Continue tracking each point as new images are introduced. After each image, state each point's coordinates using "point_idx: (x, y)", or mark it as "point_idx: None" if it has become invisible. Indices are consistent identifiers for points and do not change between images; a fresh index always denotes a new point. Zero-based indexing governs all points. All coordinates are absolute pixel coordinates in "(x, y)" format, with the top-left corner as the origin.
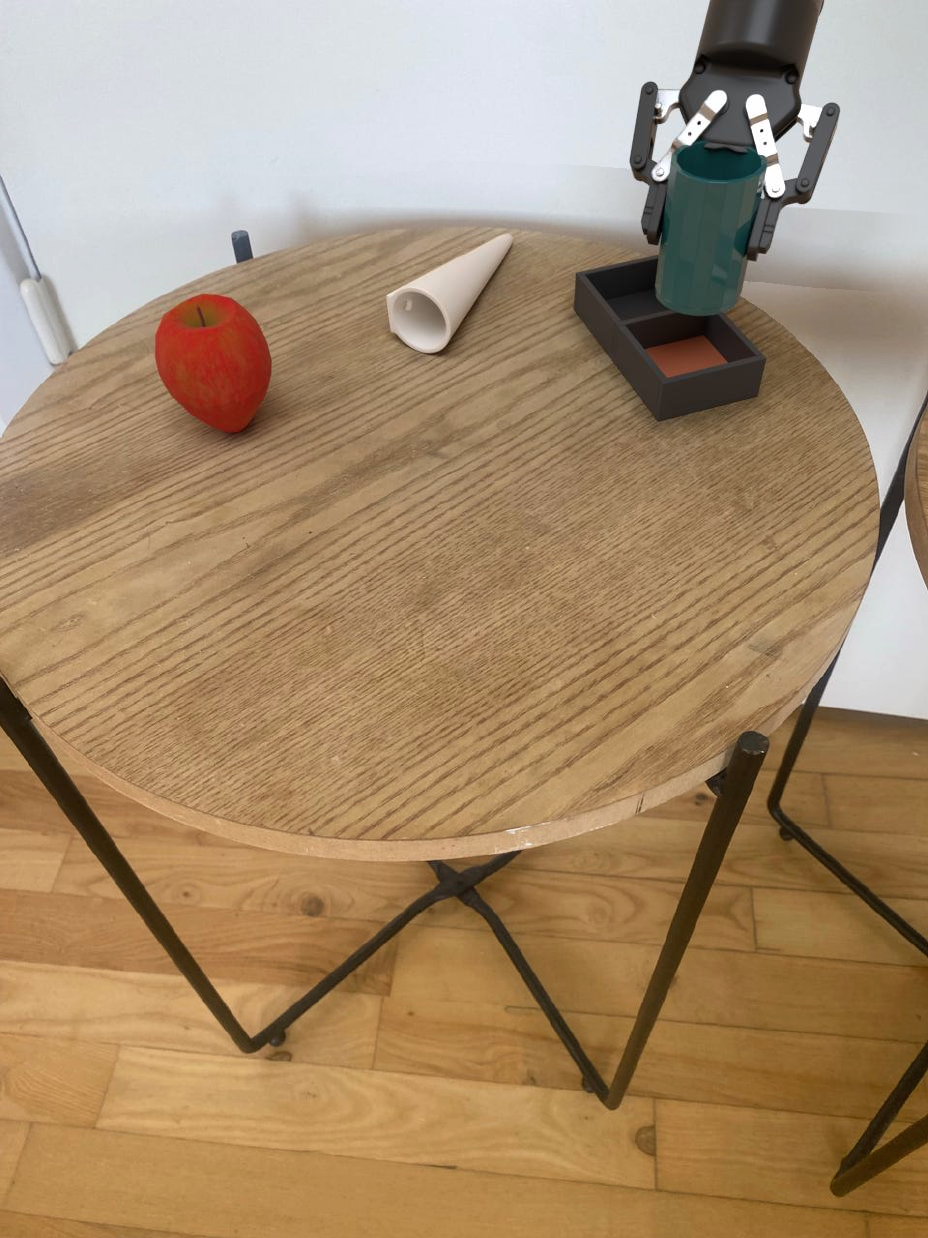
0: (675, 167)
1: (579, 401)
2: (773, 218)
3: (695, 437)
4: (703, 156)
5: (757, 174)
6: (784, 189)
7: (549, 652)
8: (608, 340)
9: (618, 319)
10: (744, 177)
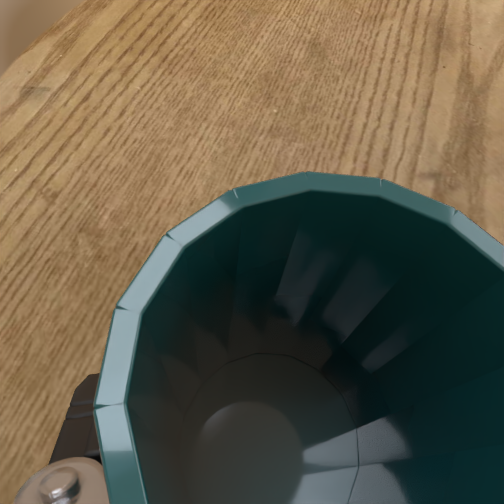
0: (476, 224)
1: None
2: (70, 435)
3: None
4: None
5: (123, 299)
6: (17, 495)
7: (203, 40)
8: None
9: None
10: (177, 257)
